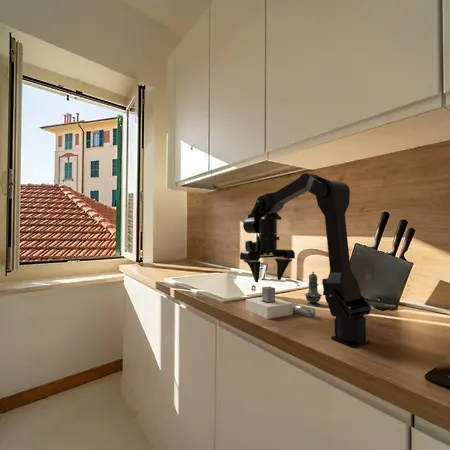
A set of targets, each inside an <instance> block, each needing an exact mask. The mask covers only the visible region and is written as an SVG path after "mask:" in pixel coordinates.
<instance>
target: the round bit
mask: <svg viewBox="0 0 450 450" xmlns="http://www.w3.org/2000/svg"><path fill="white" fill-rule="evenodd" d="M292 303H293V314H296V315H300V316H302V317H303V316H304V317H308V318H314V317H315V316H316V308H314V307H312V306H307V305H302V304H298V303H294V302H292Z"/></svg>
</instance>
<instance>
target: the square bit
mask: <svg viewBox="0 0 450 450" xmlns="http://www.w3.org/2000/svg"><path fill="white" fill-rule="evenodd" d="M261 297H262V302H264V303H274V302H275V298H276V288H275V287H272V286H270V285H269V286H262V287H261Z"/></svg>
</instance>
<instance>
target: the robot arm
mask: <svg viewBox="0 0 450 450" xmlns="http://www.w3.org/2000/svg"><path fill="white" fill-rule="evenodd" d="M307 192H308V193H310V194H311V195H314V196H315V199H316V203H317V206H318V207H319V209H320V211H321V213H322V215H323V216H324V222H325V223H324V224H325V232H326V234H325V235H326V242H327V243H326V244H327V252H328V262H329V263H328V264H329V274H328V277H326V278H323V279H321V280H322V282H321V284H322V287H323V288H322V289H323V291H322V296H324V298H325V301H326V303H327V305H328V309H329V312H330V315H331V316H332V317H335V318H334V335H332V336H330V337H331V340H334V341H337V342H339V343H341V344H344V345H347V346H349V347H351V348H355V347H359V346H362V345H366V344H369V343H371V339H368V338H367V317H366V316H368V315H370V313H371V310H372V306H371V305H370V303H369V302H368V301H367V299H365V297H364V295H362V291H361V288H360V285H359V282H358V279H357V278H356V276H355V275H354V273H353V272H352V269H351V267H352V266H351V261H350V250H349V240H348V231H347V223H346V222H347V221H346V212H347V210H348V208H349V205H350V196H351V195H350V193H351V191H350V187H349V185H348V184H347V183H345V182H342V181H338V180H337V181H336V180H329V179H326V178H323V176H322V177H321V176H319V175H318V174H314V173H309V172H305V173H302V174H301V175H300V176H299V177H298V178H296V179H295V180H294V179H293V181H291V182H289V183H288V184H286V185H284V186H283V187H281V188H280V189H278V190H276V191H274V192H268V193H265V194H261V195H259V196H258V197H257V199H256V201H255V204H254V205H253V206H254V207H253V208H252V209H251V213H250V214H247V218H246V219H244V221H243V224H242V227H243V230H244V232H245V233H246V234H259V236H257V237H256V241H252V240H246V241H245V250H242V251H241V252H240V254H239V259H240V260H242V261H243V262H244V263H246V264H247V265H248V267H249V268H250V271H251V274H252V276H253V280H254V282H255V283H259V280H260V279H259V278H260V270H261V261H260V259H264V258H265V259H266V258H267V259H268V258H274V259H275V263H276V279H277V280H278V281H281V280H282V278H283V275H284V273H285V271H286V269H287V268H288V266H289V264H290V263H291V262H292V261H293V259H296V252H295V251H294V250H293V249H287V248H286V249H284V248H283V249H279V248H278V241H279V240H280V236H277V235H278V220H279V221H280V220H282V217H281V215H279V213H278V212H280V211H281V210H282V209H283V208H284V207H285V205H286V203H288V202H290V201H292V200H294V199H295V198H298V197H299V196H301V195H303V194H305V193H307Z"/></svg>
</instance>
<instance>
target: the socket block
mask: <svg viewBox="0 0 450 450" xmlns="http://www.w3.org/2000/svg"><path fill="white" fill-rule="evenodd" d="M293 303H294V302H289V301H286V300H282V299H281V298H276V297H275V302H274V303H264V302H262V296H261V297H252V298H246V299H245V311H248V312H251V313H252V314H255V315H258V316H260V317H262V318H264V319H267V320H269V319H274V318H280V317H285V316H292V315H293V314H294V313H293Z"/></svg>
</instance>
